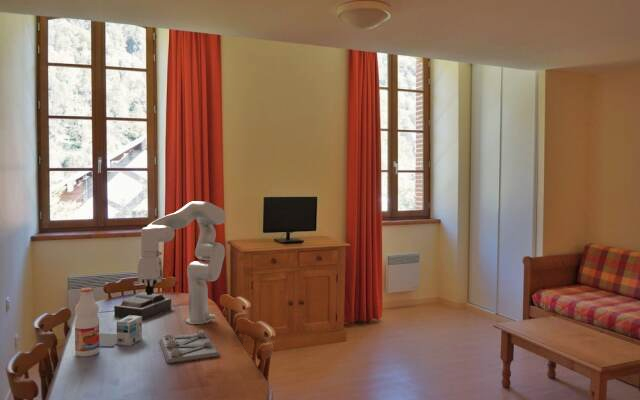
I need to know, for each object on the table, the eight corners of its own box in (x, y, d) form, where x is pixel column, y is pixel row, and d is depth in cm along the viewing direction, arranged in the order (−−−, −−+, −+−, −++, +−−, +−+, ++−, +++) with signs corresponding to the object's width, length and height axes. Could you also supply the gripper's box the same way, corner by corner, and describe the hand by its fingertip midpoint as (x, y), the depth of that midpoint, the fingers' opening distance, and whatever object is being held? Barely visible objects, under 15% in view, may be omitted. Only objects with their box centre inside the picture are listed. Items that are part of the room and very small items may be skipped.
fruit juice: (86, 348, 213) (86, 285, 212) (104, 350, 210) (103, 287, 209) (70, 355, 204) (68, 290, 203) (88, 358, 201) (87, 291, 200)
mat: (129, 335, 230) (129, 334, 230) (112, 347, 214) (112, 346, 214) (100, 334, 231) (100, 333, 231) (82, 346, 215) (82, 345, 215)
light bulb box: (129, 346, 216) (129, 322, 216) (116, 345, 217) (115, 321, 217) (142, 338, 227) (142, 315, 226) (129, 337, 228) (129, 314, 227)
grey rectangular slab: (220, 358, 204) (220, 341, 204) (167, 366, 195) (167, 348, 195) (206, 336, 232) (206, 321, 231) (159, 342, 223) (159, 327, 222)
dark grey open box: (177, 311, 273) (177, 293, 273) (136, 323, 251) (136, 304, 250) (150, 304, 286) (150, 288, 285) (108, 315, 263) (108, 297, 263)
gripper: (169, 253, 223) (169, 293, 223) (137, 252, 224) (137, 292, 224) (162, 256, 215) (162, 296, 216) (130, 255, 216) (130, 296, 217)
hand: (149, 294), depth 220 cm, fingers closed
